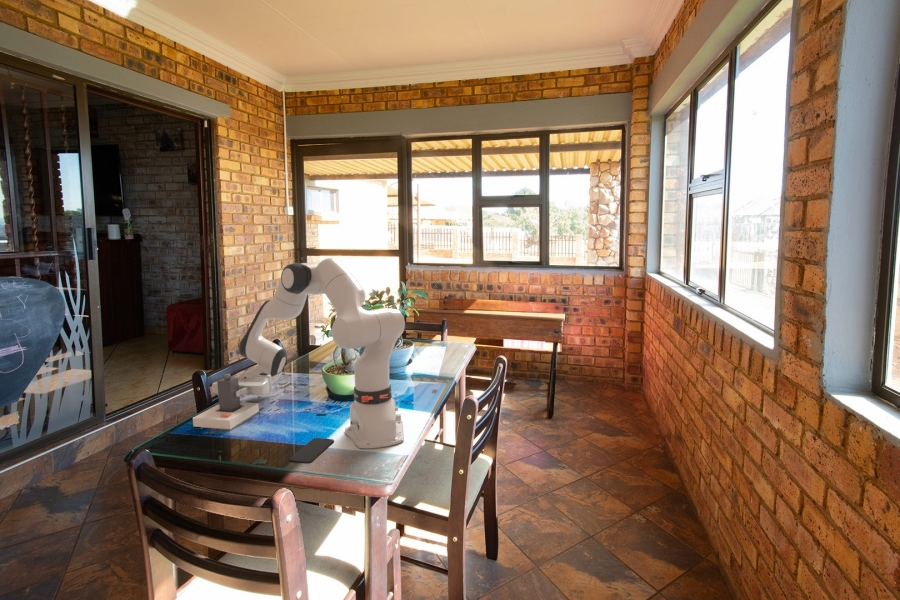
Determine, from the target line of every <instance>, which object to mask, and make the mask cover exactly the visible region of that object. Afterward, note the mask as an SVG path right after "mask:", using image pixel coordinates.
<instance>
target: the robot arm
mask: <svg viewBox="0 0 900 600" xmlns="http://www.w3.org/2000/svg"><path fill="white" fill-rule="evenodd" d="M324 294H325V296H326V297H327V299H328V300H329V302H330V303H331V305H332V306H333V308H334V311H335V313H336V318H335V320H334V321H333V324H332V325H331V326H332V327H331V337H332V340H333V342H334V343H335V345H336V346H337V347H339V348H341V349H344V350H345V349H346V350H347V349H350V350H351V349H355V350H356V349H360V348H361V347H365V346H366V347H365V350H364V352H363V354H362V355H361V356H360V355H359V357H358V358H357V360H355V363H354V366H353V375H354V387H353V399H354V401H353V402H352V403H351V404H350V406H349V422H350V425H349V426H347V427H345V428H344V433H346V435H347V436H348V438H349V439H350V440H351V441H352V442H353V443H354V444H355V445H356V447H358V449H379V448H385V447H390V446H394V445H398V444H401V443H403V442H404V441H405V439H404V436H405V435H404V423H403V420H402V416H401V415H402V414H400V413H397V412H399V406H396V399H394V398H393V394H392V393H393V391H392V386H391V384H390V362H391V356H392V352H393V350H394V347H395V345H396V343H397V342H398V340H399V338H400V337H401V336H402V334H403V333H404V331H405V327H406V322H405V318H404V315H403V313H401V312H402V311H400V310H398V309H396V308H391V307H380V308H375V309H369V310H366V309H364V308H363V307H362V306H363V305H364V303H365V301H366V292H365V289H364V288H363V287H362V285H361V284H360V283H359V281H358V280H357V278H356V277H355V276H354V275H353V273H351V271H350V270H349V268H347V266H346V265H344V264H343V263H342V262H341V261H340V260H339V259H337V258H333V257H327V258H325V259H323V260H321V261H320V262H318V263H314V262H303V263H302V262H294V263H289V264H286V266H284V268H283V269H282V272H281V276H280V281H279V283H278V285H277V288H276V290H275V292H274V294H273V297H272V299H268V300H266V301H265V302H263V303H262V304H261V306H260V308H259V309H258V310H257V312H256V314H255V316H254V317H253V320H252V322H251V323H250V325H249V327H248V329H247V330H246V333H245V334H244V336H242V338H241V340H240V341H239V343H238V351H239V354H240V356H241V357H243V358H245V359H247V360H250V361H252V362H254V363H255V364H257V365H256V366H255V367H253V368H249V369H248V370H247V369H246V371H243V372H242V373H240V374H239V376H238V377H237V378H238V384H239V390H236V391H234V396H235V397H239V396H263V395H266V394H268V393H271V392H273V383H275V382H276V381H278V379H280V377H281V376H282V374H283V370H284V368H285V366H286V365H287V362H288V361H287V360H288V354H287V351H286V349H285V348H283V347H282V346H280V345H279V344H277V343H275V342H273V341H270V340H269V339H268V338H265V337H264V336H263V334H262V333H263V331H264V329H265V327H266V325H267V323H268V321H269V320H279V321H290V320H293V319H295V318H297V317H298V316H300V315H301V314H302V312H303V309H304V307H305V304H306V300H307V298H308V295H315V296H316V295H324ZM217 381H218V380H217ZM217 381H215V382H213V383H212V385H211V386H212V387H211V388H212V393H214V394H216V395H217V396H218V385H217ZM396 413H397V414H396Z"/></svg>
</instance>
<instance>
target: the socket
mask: <svg viewBox="0 0 900 600" xmlns="http://www.w3.org/2000/svg"><path fill="white" fill-rule="evenodd" d="M240 407H241V408H240V409H238V410H236V411H235V412H233V413H232V412H220V407H219V403H218V404H216V405H214V406H212V407H210V408H208V409H207V410H204V411H202V412H200V413H199V414H197V415H195V416H194V417H192V425H193V428H194V427H201V428H200V429H203V428H211V429H210V430H216V429H219V430H218V431H230V432H231V431H232V430H234V429H235V428H237V427H239V426H240V425H242V424H243V423H245V422H247V421H249V419H252V418H253V417H254V416H256V415H258V414H260V410H259V403H257V402H255V403H254V402H242V401H240Z"/></svg>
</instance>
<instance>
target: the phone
mask: <svg viewBox="0 0 900 600" xmlns="http://www.w3.org/2000/svg"><path fill="white" fill-rule="evenodd" d="M334 443H335V439H333V438H323V437H322V438H321V437H315V438H312V439H311V440H309V441H308V442H307V443H306V444H305V445H303V446H302V447H301V448H300V449H298V450H297V452H295V453H294V454H293V455H291V456H290V457H289V459H288V461H289V462H292V463H293V462H294V463H300V464H302V463H303V464H311V463H313V462H315V460H317V459H318V458H319V457H320V456H321V455H322V454H323V453H324V452H326V451H327V449H328V448H330V447H331V446H332V445H333V444H334Z"/></svg>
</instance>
